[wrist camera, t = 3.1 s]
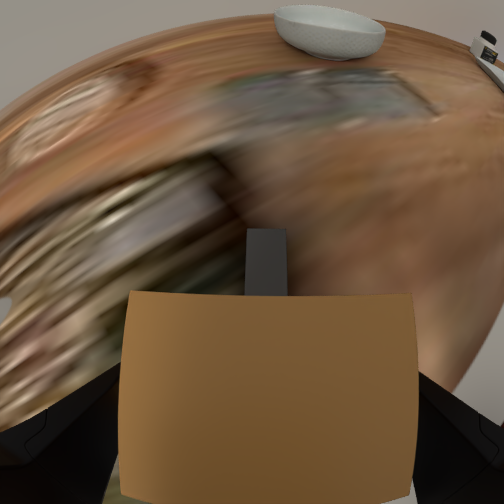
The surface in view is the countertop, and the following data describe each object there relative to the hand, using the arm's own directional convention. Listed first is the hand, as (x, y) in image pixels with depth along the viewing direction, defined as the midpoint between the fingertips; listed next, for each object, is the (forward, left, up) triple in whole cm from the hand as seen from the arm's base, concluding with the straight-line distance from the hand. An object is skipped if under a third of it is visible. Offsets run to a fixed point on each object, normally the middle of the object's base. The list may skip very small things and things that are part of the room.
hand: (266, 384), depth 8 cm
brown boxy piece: (+2, -2, -7) cm, 7 cm away
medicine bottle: (+5, -109, -8) cm, 110 cm away
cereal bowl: (+24, -38, -8) cm, 46 cm away
